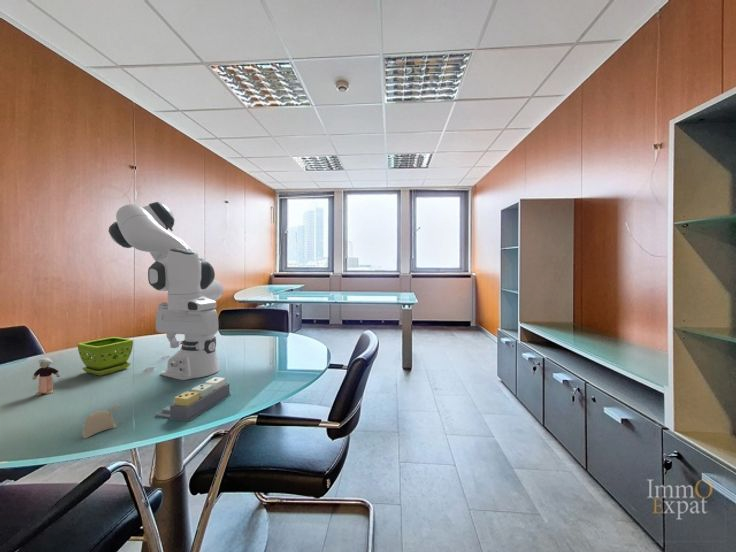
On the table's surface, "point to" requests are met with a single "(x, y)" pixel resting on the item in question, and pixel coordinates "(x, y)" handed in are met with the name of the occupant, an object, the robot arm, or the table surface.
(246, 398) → the table surface
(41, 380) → the grandmother figurine
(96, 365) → the flower pot
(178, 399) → the tile three
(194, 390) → the tile two
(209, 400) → the console
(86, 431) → the decorative ornament
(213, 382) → the tile one
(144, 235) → the robot arm
